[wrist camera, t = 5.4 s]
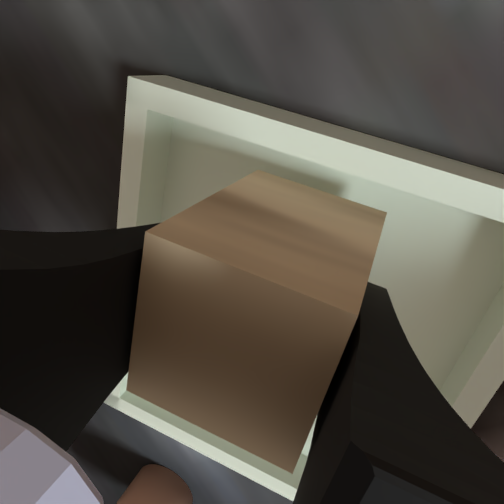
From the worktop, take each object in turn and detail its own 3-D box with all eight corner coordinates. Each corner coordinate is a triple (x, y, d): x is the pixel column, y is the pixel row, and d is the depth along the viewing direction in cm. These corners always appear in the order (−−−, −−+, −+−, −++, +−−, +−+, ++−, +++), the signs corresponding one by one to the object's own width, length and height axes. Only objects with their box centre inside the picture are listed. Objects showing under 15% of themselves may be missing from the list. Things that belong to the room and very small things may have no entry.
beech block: (342, 324, 14) (292, 474, 9) (231, 279, 15) (126, 390, 9) (387, 212, 12) (358, 315, 7) (257, 169, 13) (145, 231, 8)
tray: (582, 197, 12) (611, 221, 10) (391, 501, 19) (387, 550, 17) (165, 75, 15) (127, 75, 13) (132, 373, 22) (103, 402, 20)
